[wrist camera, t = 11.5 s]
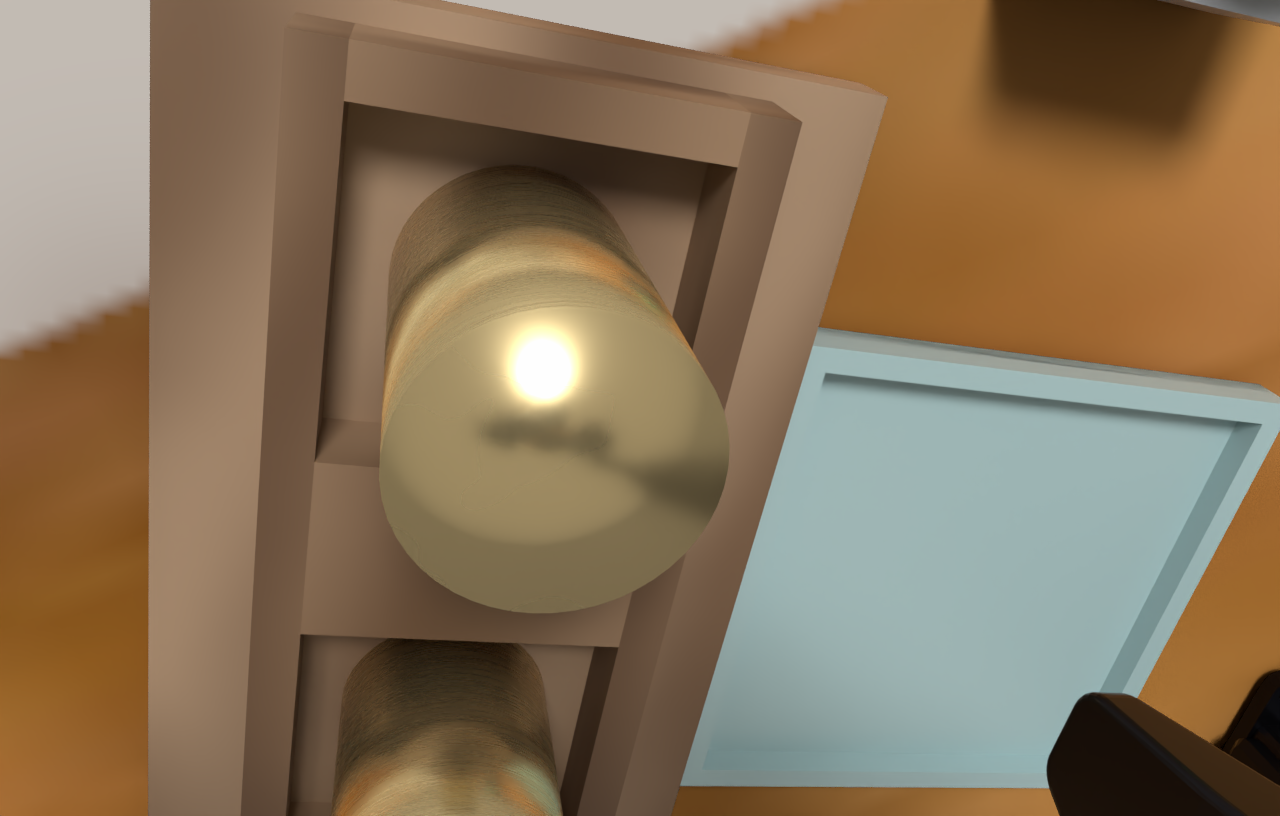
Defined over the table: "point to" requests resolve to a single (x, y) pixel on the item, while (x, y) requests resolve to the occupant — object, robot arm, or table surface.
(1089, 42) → the table surface
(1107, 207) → the table surface
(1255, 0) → the button housing
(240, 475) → the brown compartment tray
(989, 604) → the light blue square tray
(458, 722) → the cylinder
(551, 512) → the cylinder
